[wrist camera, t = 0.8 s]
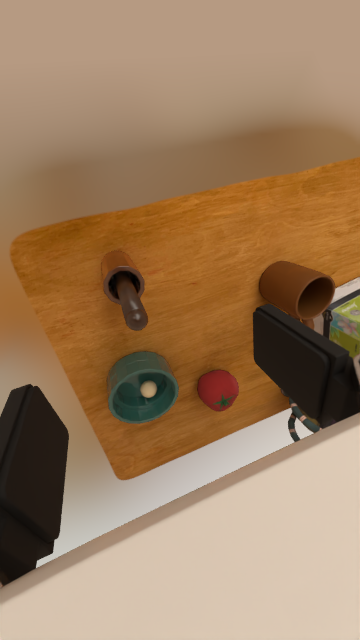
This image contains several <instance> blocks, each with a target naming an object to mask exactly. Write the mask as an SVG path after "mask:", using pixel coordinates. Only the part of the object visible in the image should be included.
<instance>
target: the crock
mask: <svg viewBox="0 0 360 640" xmlns="http://www.w3.org/2000/svg"><path fill="white" fill-rule="evenodd" d="M101 270H102V278H103V286H104V292H105V294H106V295H107V296H108V298H109V299H110V300H111V301H113V302H115V303H117V304H119V305H121V303H120V299H119V295H118V292H117V288H116V284H115V280H114V277H113V275H114V274H115V273H117V272H119V271H127V273H128V275H129V277H130V279H131V281H132V283H133V286H134V288H135V290H136V292H137V294H138V296H139V298H140V297H141V295H142V294H143V292H144V279H143V277H142V275H141V274H140V272H139V271H138V269H137V267H136V266H135V264H134V263H133V261H132V260H131V258H130V256H129V255H127V254H126V253H124V252H122V251H111V252H109V253H107V254H106V255H105V256H104V257H103V259H102V262H101Z"/></svg>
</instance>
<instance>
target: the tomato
mask: <svg viewBox="0 0 360 640" xmlns="http://www.w3.org/2000/svg"><path fill="white" fill-rule="evenodd" d="M197 391H198V394H199V397H200V399H201V400H202V401H203V402H204V403H205V404H206V405H207V406H208V407H210V408H211V409H213V410H215V411H224V410H226V409H227V408H229V407H230V406H231V405H232V404H233V402H234V401H235V399H236V397H237V396H238V392H239V386H238V382H237V380H236V378H235V377H233V376H232V375H231V374H230V373H229V372H227V371H223V370H215V371H211V372H209V373H206V374H204V375H203V376H202V377H201V378H200V380H199V382H198V388H197Z"/></svg>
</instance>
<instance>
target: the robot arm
mask: <svg viewBox="0 0 360 640" xmlns="http://www.w3.org/2000/svg"><path fill="white" fill-rule="evenodd" d="M253 345H254V360H255V362H256V364H257V365H258V366H259V367H260V368H261V369H262V370H263V371H264V372H265V373H266V374H267V375H268V376H269V377H270V378H271V379H272V380H273V381H274V382H275V383H276V384H277V385H278V386H279V387H280V388H281V389H282V390H283V391H284V392H285V393H286V394H287V395H288V396H289V397H290V398H291V399H292V400H293V402H294V403H295V404H296V405H297V406H298V407H299V408H300V409H301V410H302V411H303V412H304V413H305V414H306V415H307V416H308V417H310V418H311V419H315V420H316V421H317V422H318V423H319V424H320V425H323V424H325V423H327V422H329V421H331V420H333V419H334V420H335V421H336V422H337V423H335V424H333V425H331V426H329V427H326V428H324V429H322V430H320V431H318V432H316V433H314V434H312V435H310V436H307V437H305V438H303V439H301V440H299V441H297V442H295V443H292V444H290V445H288V446H286V447H284V448H282V449H280V450H278V451H276V452H273V453H271V454H269V455H267V456H265V457H263V458H261V459H259V460H257V461H254V462H252V463H250V464H248V465H246V466H244V467H242V468H240V469H238V470H236V471H234V472H232V473H229V474H227V475H225V476H223V477H221V478H219V479H217V480H215V481H213V482H211V483H209V484H207V485H204V486H202V487H201V488H198V489H196V490H194V491H192V492H190V493H188V494H186V495H184V496H182V497H180V498H177V499H175V500H173V501H171V502H169V503H167V504H165V505H163V506H161V507H159V508H157V509H155V510H153V511H151V512H149V513H147V514H145V515H143V516H141V517H139V518H136V519H135V520H132V521H130V522H128V523H126V524H124V525H122V526H120V527H118V528H116V529H114V530H112V531H110V532H108V533H106V534H103V535H102V536H99V537H97V538H95V539H93V540H91V541H89V542H87V543H85V544H83V545H81V546H79V547H77V548H75V549H73V550H71V551H69V552H67V553H66V554H64V555H62V556H60V557H58V558H56V559H54V560H52V561H50V562H48V563H46V564H44V565H42V566H40V567H38V568H36V563H37V560H39V559H41V558H43V557H45V556H48V555H50V554H52V553H53V547H54V540H55V539H57V538H58V536H59V533H60V525H61V514H62V504H63V493H64V482H65V472H66V461H67V450H68V440H69V434H68V430H67V428H66V427H65V425H64V424H63V422H62V421H61V420H60V418H59V416H58V415H57V413H56V412H55V411H54V409H53V408H52V406H51V405H50V403H49V402H48V400H47V399H46V397H45V396H44V394H43V393H42V391H41V390H40V388H39V387H38V386H34V387H33V386H32V385H31V384H28V385H25V386H22V387H20V388H16V389H14V390H12V391H11V392H10V395H9V397H8V400H7V402H6V404H5V407H4V409H3V412H2V414H1V417H0V640H360V353H359V354H357V355H356V356H355V357H354V358H352V357H350V356H349V353H350V351H348V350H346V349H345V348H343V347H341V346H340V345H338V344H336V343H335V342H333V341H331V340H330V339H328V338H326V337H325V336H323V335H321V334H320V333H318V332H316V331H315V330H313V329H311V328H310V327H308V326H306V325H305V324H303V323H301V322H300V321H298V320H296V319H295V318H293V317H291V316H290V315H288V314H286V313H285V312H283V311H281V310H280V309H278V308H276V307H275V306H273V305H271V304H266V305H263V306H260V307H257V308H256V311H255V312H254V313H253Z"/></svg>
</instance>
